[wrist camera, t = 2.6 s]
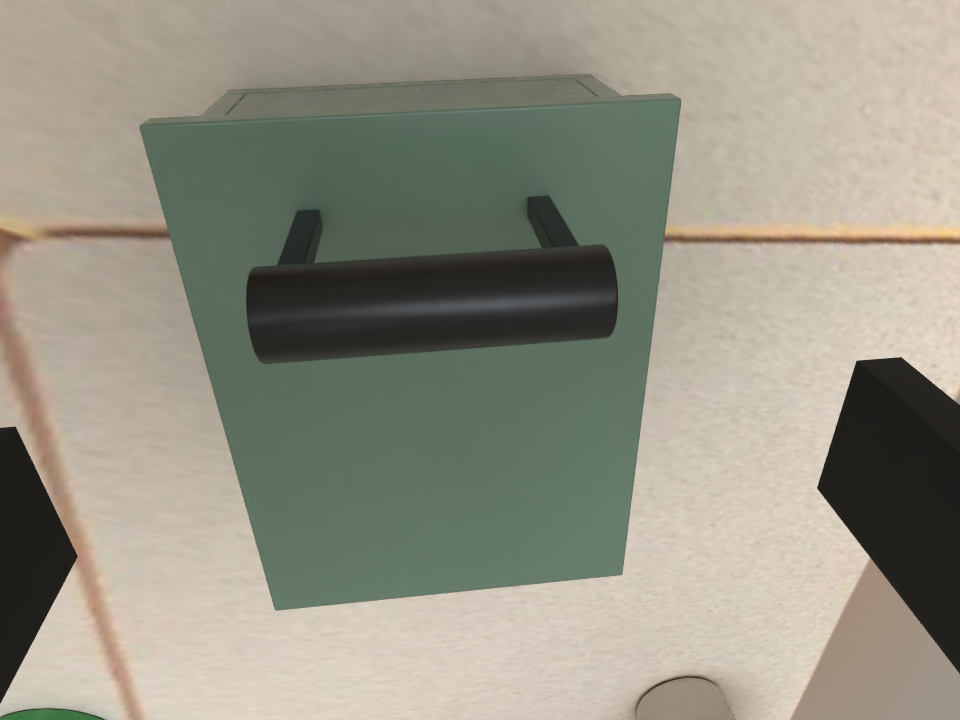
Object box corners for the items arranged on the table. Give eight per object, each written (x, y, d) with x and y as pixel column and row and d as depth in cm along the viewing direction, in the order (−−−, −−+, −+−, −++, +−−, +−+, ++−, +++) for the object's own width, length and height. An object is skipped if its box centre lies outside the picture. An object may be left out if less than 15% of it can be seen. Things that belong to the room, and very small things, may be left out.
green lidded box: (147, 118, 19) (11, 214, 13) (672, 92, 21) (810, 168, 14) (277, 594, 30) (242, 787, 23) (617, 560, 31) (679, 733, 24)
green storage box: (228, 90, 28) (157, 152, 20) (590, 73, 30) (667, 126, 21) (303, 452, 39) (277, 593, 30) (570, 429, 40) (616, 559, 31)
